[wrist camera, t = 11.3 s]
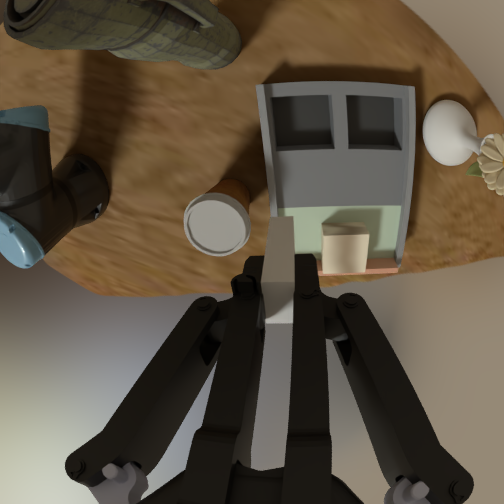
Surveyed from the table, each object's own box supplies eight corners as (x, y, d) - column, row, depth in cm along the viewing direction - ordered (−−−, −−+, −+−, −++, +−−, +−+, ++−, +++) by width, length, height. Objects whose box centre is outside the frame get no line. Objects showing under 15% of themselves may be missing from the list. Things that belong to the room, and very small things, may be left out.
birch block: (321, 259, 47) (322, 273, 44) (321, 223, 43) (323, 235, 40) (360, 258, 46) (365, 272, 43) (363, 221, 42) (369, 234, 39)
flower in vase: (464, 95, 30) (571, 128, 9) (473, 157, 36) (566, 223, 15) (402, 104, 34) (504, 136, 14) (416, 170, 40) (501, 251, 19)
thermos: (250, 71, 35) (115, 27, 6) (176, 70, 36) (-29, 89, 7) (255, 20, 30) (156, -118, 1) (180, 22, 31) (-8, -29, 2)
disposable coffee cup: (213, 161, 44) (189, 186, 34) (267, 181, 45) (259, 212, 35) (198, 209, 50) (175, 245, 40) (248, 228, 50) (236, 268, 40)
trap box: (278, 253, 52) (275, 276, 47) (260, 85, 36) (254, 84, 31) (391, 250, 49) (402, 272, 43) (400, 85, 33) (418, 87, 27)
